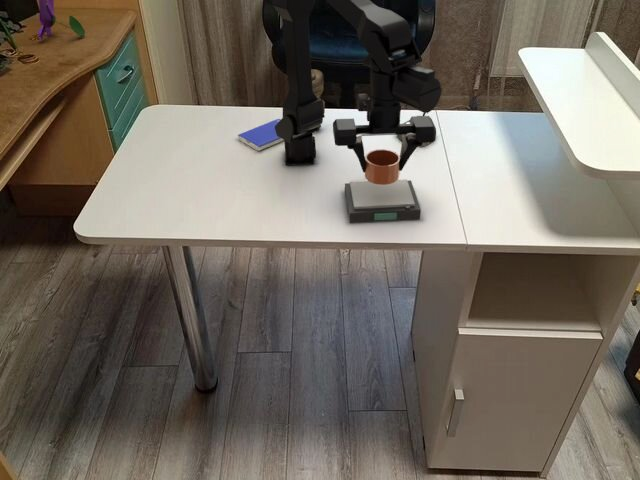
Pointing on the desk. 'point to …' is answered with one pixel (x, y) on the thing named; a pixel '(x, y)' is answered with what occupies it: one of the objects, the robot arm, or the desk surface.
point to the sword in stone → (423, 143)
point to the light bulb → (318, 84)
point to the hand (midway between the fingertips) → (382, 170)
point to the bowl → (382, 166)
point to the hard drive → (261, 136)
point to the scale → (381, 202)
